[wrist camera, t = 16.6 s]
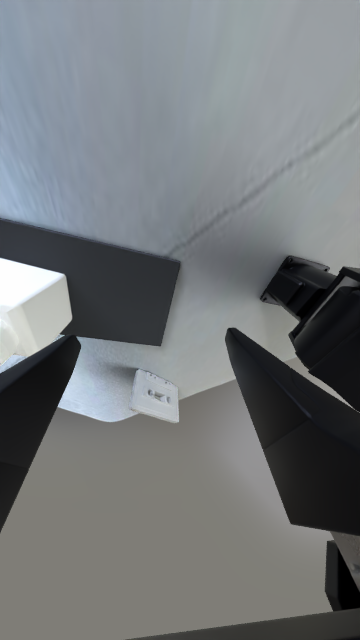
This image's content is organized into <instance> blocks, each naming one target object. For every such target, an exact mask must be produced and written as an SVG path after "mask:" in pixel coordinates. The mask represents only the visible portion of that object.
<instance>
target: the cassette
mask: <svg viewBox="0 0 360 640" xmlns="http://www.w3.org/2000/svg"><path fill="white" fill-rule="evenodd" d="M154 395H155V396H157V397H160V400H157V399H155V398H154ZM129 410H131V411H135V412H138V413H142V414H145V415H149V416H152V417H155V418H159V419H162V420H165V421H169V422H172V423H178V422H179V410H178V388H177V386H175V385H173V384H172V383H170V382H168V381H166V380H164V379H162V378H160V377H158V376H156V375H154V374H152V373H149V372H147V371H146V372H145V371H143V370H141V369H139V370H137V371H136V375H135V379H134V384H133V389H132V394H131V399H130V404H129Z"/></svg>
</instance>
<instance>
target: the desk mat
mask: <svg viewBox="0 0 360 640" xmlns="http://www.w3.org/2000/svg"><path fill="white" fill-rule="evenodd" d="M0 258H2V259H6V260H10V261H14V262H18V263H22V264H26V265H30V266H34V267H38V268H42V269H46V270H50V271H54V272H58V273H62V274H64V275H65V276H66V280H67V286H68V293H69V299H70V306H71V312H72V320H71V321H70V323H69V324H68V325H67V326H66V327H65V328H64V329H63V330H62V332H61V333H60V334H61V335H75V336H78V337H87V338H95V339H103V340H112V341H120V342H128V343H137V344H145V345H153V346H161V343H162V339H163V335H164V330H165V326H166V322H167V318H168V314H169V309H170V305H171V301H172V297H173V293H174V289H175V284H176V280H177V276H178V272H179V268H180V261H177V260H173V259H169V258H165V257H160V256H156V255H152V254H148V253H144V252H140V251H135V250H131V249H127V248H123V247H119V246H114V245H110V244H106V243H102V242H98V241H94V240H89V239H85V238H81V237H77V236H73V235H69V234H64V233H60V232H56V231H52V230H48V229H44V228H39V227H35V226H31V225H27V224H23V223H19V222H14V221H10V220H6V219H2V218H0Z"/></svg>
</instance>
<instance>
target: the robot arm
mask: <svg viewBox="0 0 360 640" xmlns="http://www.w3.org/2000/svg"><path fill="white" fill-rule="evenodd" d="M290 259H291V260H290ZM289 260H290V261H289ZM324 269H325V270H324ZM329 269H330V267H328V266H325V265H322V264H318V263H315V262H311V261H308V260H304V259H301V258H298V257H294V256H288V257H287V258H286V259H285V260H284V262H283V263H282V265H281V266H280V268H279V270H278V271H277V273H276V274H275V276H274V277H273V279H272V280H271V282H270V283H269V285H268V286H267V288H266V290H265V291H264V293H263V294H262V296H261V297H260V300H261V301H262V302H266V303H270V304H275V305H280V306H282V307H283V308H284V309H285V310H287V311H288V312H289V313H290V314H291V315H292V316H294V317H295V318H296V319H297V320H298V321H299V324H298V325H297V326H296V327H295V329H294V330H293V331H292V332H290V333H289V335H288V336H289V338H290V340H291V342H292V344H293V346H294V348H295V350H296V352H295V353H296V355H297V357H298V358H299V359H300V360H301V362H302V363H303V364H304V366H305V367H307V368H308V369H309V371H308V372H309V373H310V374H311V375H313V376H315V377H316V378H318V379H320V380H321V381H323V382H324V383H325V384H327V385H328V386H330V387H331V388H332V389H333V390H334V391H336V392H337V393H338V394H339V395H340V396H341V397H342V398H343V399H345V401H346V402H348V403H349V404H350V405H351V406H352V407H353V408H354V409H355V410H354V409H353V408H351V407H349V406H348V405H346V404H345V403H343V402H342V401H340V400H338V399H337V398H335V397H334V396H332V395H330V394H329V393H327V392H326V391H324V390H323V389H321V388H320V387H318V386H317V385H315V384H313V383H312V382H310V381H309V380H308V379H306V378H305V377H303V376H302V375H300V374H299V373H298V372H296V371H295V370H293V369H292V368H290V367H289V366H288V365H286V364H285V363H284V362H282V361H281V360H279V359H278V358H277V357H275V356H274V355H272V354H271V353H270V352H268V351H267V350H265V349H264V348H263V347H261V346H260V345H258V344H257V343H256V342H254V341H253V340H252V339H250V338H249V337H247V336H246V335H245V334H243V333H242V332H240V331H239V330H238V329H236V328H228V329H227V333H226V337H225V342H226V346H227V350H228V354H229V358H230V362H231V365H232V368H233V371H234V374H235V376H236V379H237V382H238V384H239V387H240V389H241V392H242V395H243V397H244V400H245V403H246V406H247V408H248V411H249V413H250V416H251V419H252V422H253V425H254V427H255V430H256V432H257V435H258V438H259V441H260V443H261V446H262V449H263V452H264V454H265V457H266V460H267V462H268V465H269V468H270V470H271V473H272V476H273V478H274V481H275V484H276V487H277V489H278V492H279V494H280V497H281V500H282V503H283V505H284V508H285V511H286V513H287V516H288V518H289V521H290V523H291V524H293V525H298V526H304V527H309V528H315V529H321V530H327V531H330V532H331V534H332V536H333V538H334V540H332V541H327V553H326V554H327V555H326V578H325V592H326V595H327V597H328V600H329V602H330V605H331V607H332V610H333V612H327V613H320V614H312V615H305V616H297V617H290V618H283V619H275V620H268V621H260V622H253V623H247V624H246V623H245V624H238V625H231V626H223V627H216V628H209V629H201V630H193V631H186V632H179V633H171V634H164V635H157V636H149V637H142V638H134V639H127V640H360V413H359V412H360V269H359V268H352V267H344V266H343V267H342V269H341V270H340V271H339V274H338V276H335V275H333V274H330V273H328V271H329ZM264 298H265V299H264ZM80 349H81V344H80V342H79V341H78V339H77V338H76V336H75V335H65V336H63V337H61V338H60V339H58V340H56V341H55V342H53V343H51V344H50V345H48V346H46V347H44V348H43V349H41V350H39V351H38V352H36V353H34V354H33V355H31V356H29V357H28V358H26V359H24V360H22V361H21V362H19V363H17V364H16V365H14V366H12V367H11V368H9V369H7V370H5V371H4V372H2V373H0V532H1V530H2V528H3V526H4V523H5V521H6V519H7V517H8V515H9V512H10V510H11V508H12V505H13V503H14V501H15V499H16V497H17V495H18V492H19V490H20V488H21V486H22V484H23V481H24V479H25V477H26V475H27V473H28V470H29V468H30V466H31V464H32V461H33V459H34V457H35V455H36V452H37V450H38V448H39V446H40V444H41V442H42V439H43V437H44V435H45V433H46V430H47V428H48V426H49V424H50V422H51V419H52V417H53V415H54V413H55V411H56V408H57V406H58V404H59V402H60V400H61V397H62V395H63V393H64V391H65V389H66V386H67V384H68V382H69V380H70V378H71V375H72V373H73V370H74V368H75V365H76V361H77V358H78V355H79V352H80ZM356 410H357V411H358V412H357V411H356Z"/></svg>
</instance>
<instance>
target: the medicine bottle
mask: <svg viewBox="0 0 360 640" xmlns="http://www.w3.org/2000/svg"><path fill="white" fill-rule="evenodd" d="M71 320H72V312H71V306H70V299H69V293H68V286H67V280H66V276H65V275H64V274H62V273H58V272H54V271H50V270H46V269H42V268H38V267H34V266H30V265H26V264H22V263H18V262H14V261H10V260H6V259H2V258H0V366H1V365H2V364H3V363H4V362H5V361H6V360H8V359H9V358H10V357H11V356H12V355H19V356H27V357H29V356H31V355H33V354H34V353H36V352H38V351H39V350H41V349H43V348H44V347H46V346H48V345H50V344H51V343H52V342H53V341H54V340H55V338H56V337H57V336H58V335H59V334H60V333H61V332H62V330H63V329H64V328H65V327H66V326H67V325H68V324H69V323H70V321H71Z"/></svg>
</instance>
